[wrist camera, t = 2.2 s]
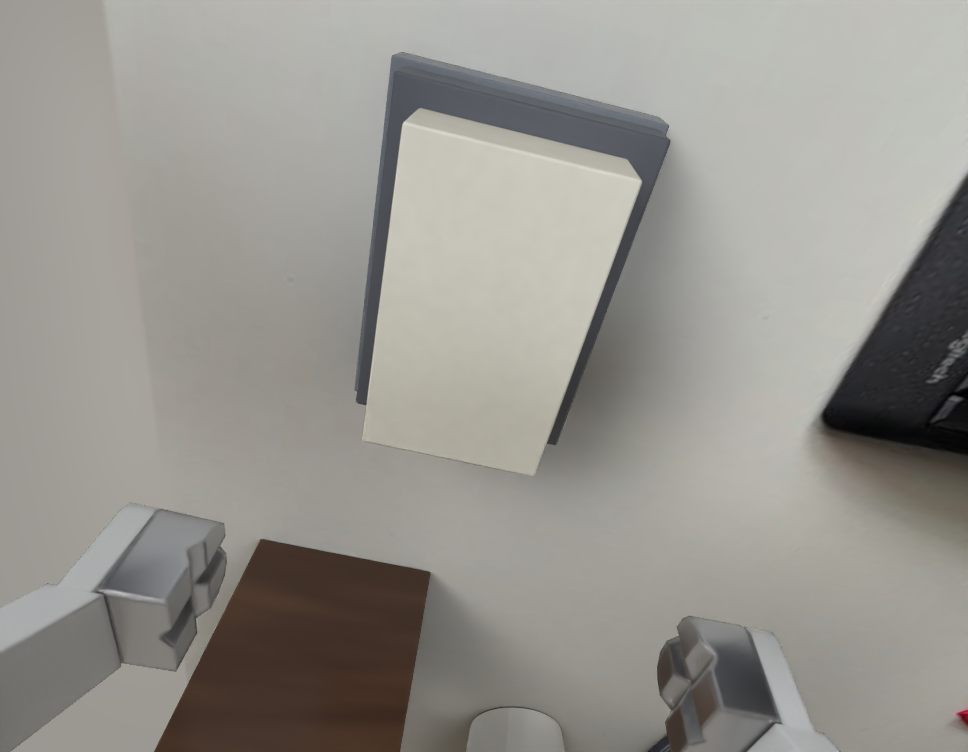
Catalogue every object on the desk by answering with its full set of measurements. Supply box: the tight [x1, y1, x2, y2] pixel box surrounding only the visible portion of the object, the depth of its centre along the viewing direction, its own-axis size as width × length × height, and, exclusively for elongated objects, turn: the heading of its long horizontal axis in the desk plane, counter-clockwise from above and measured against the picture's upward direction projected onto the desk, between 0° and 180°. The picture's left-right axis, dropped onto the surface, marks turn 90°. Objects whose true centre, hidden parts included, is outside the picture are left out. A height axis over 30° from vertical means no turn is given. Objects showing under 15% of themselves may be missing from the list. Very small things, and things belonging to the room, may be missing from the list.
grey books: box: [355, 52, 670, 445], centre depth 21 cm, size 13×9×3 cm
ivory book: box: [362, 108, 642, 476], centre depth 19 cm, size 11×6×3 cm, turn 168°
